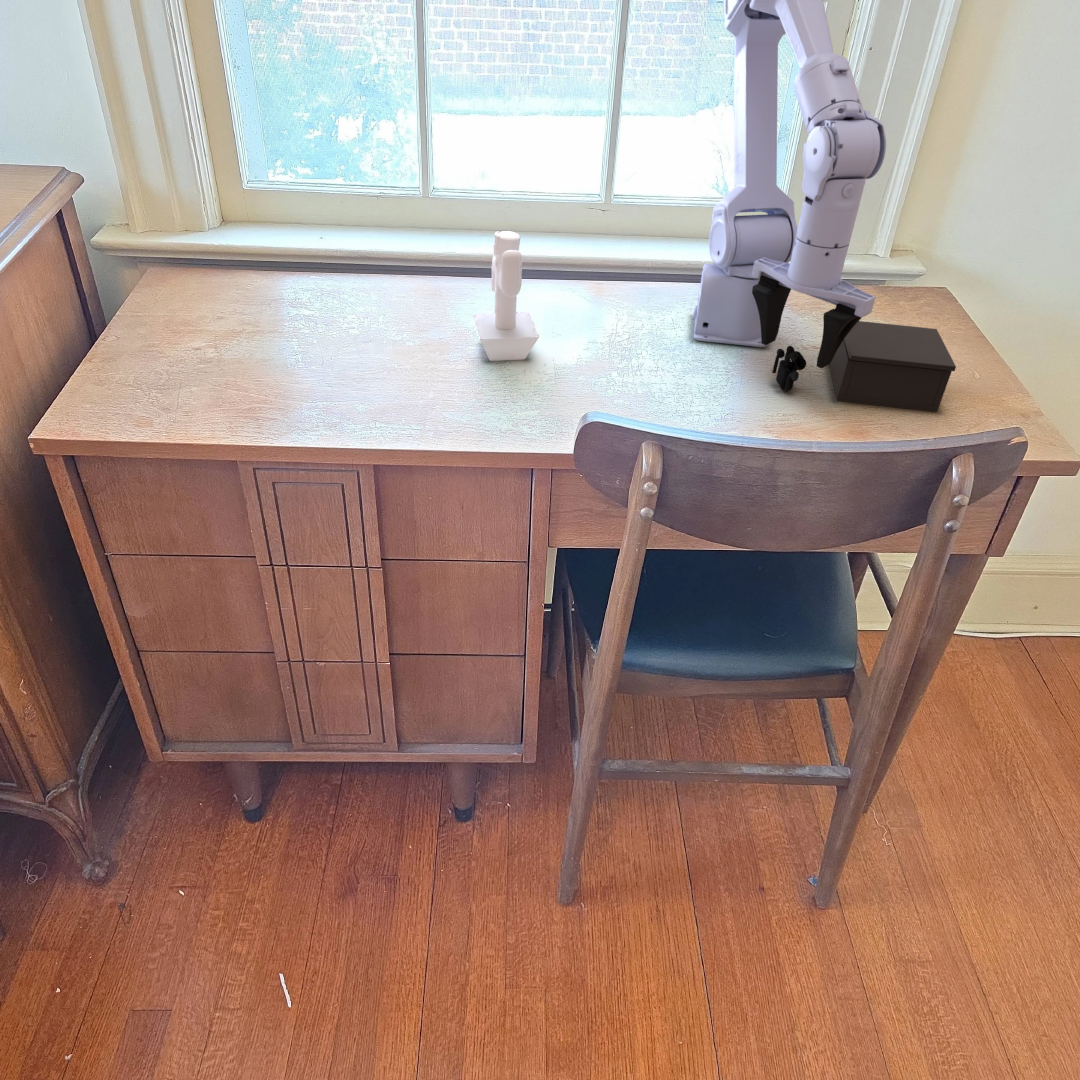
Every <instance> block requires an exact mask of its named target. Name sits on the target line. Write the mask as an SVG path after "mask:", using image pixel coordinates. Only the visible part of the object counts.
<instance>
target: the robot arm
mask: <svg viewBox="0 0 1080 1080" xmlns="http://www.w3.org/2000/svg"><path fill="white" fill-rule="evenodd" d="M723 1H724V3H723V4H724V7H723V8H724V9H723V10H724V11H723V13H724V28H725V29H726V30H727V32H729V33H730V34H732V36H733V51H734V52H733V53H734V54H733V57H734V58H733V67H734V68H733V70H734V71H733V73H734V74H733V76H734V77H733V80H734V81H733V82H734V83H733V86H734V88H733V89H734V91H733V95H734V96H733V101H734V103H733V104H734V109H733V110H734V111H733V112H734V113H733V114H734V117H733V118H734V123H733V131H734V132H733V133H734V135H733V136H734V143H733V144H734V145H733V147H734V148H733V149H734V152H733V153H734V155H733V156H734V157H733V159H734V162H733V164H734V166H733V167H734V176H733V177H734V178H733V179H734V180H733V181H734V182H733V183H734V186H733V188H732V189H731V191H729V192H728V193H727V194H726V195H725V196H723V197H722V198H721V199H720V200H719V201H718V202H717V203H716V205H714V207H713V208H712V220H711V227H710V231H709V236H708V251H709V256H710V258H711V261H712V263H704V264H703V268H702V272H701V278H700V284H699V290H698V296H697V302H696V304H695V305H694V309H693V315H692V316H693V318H692V319H693V320H694V329H693V339H694V340H695V341H699V342H701V341H702V342H708V343H709V342H710V343H720V344H726V345H727V344H729V345H737V346H738V345H739V346H747V347H755V348H756V347H757V348H767V347H768V345H770V344H772V343H773V342H776V340H777V337H778V334H779V332H780V327H781V321H782V316H783V314H784V313H783V312H784V310H785V307H786V303H787V301H788V298H789V296H790V293H791V291H794V292H797V293H800V294H804V295H807V296H809V297H812V298H815V299H817V300H821V301H823V302H826V303H829V304H831V305H834V306H835V307H834V308H832V309H829V310H828V311H826V312H824V313H823V316H822V317H823V328H822V330H823V331H822V338H821V344H820V347H819V351H818V353H817V359H816V365H815V366H816V368H819V369H824V368H825V367H827V366H829V364H831V361H832V359H833V357H834V355H835V353H836V351H837V350H838V348H839V346H840V345H841V343H842V341H843V340H844V339H845V337H846V336H847V334H848V333H849V332H850V331H851V329H852V328H853V327H854V326H855V325H856V323H857V322H858V321H861V320H862V318H864V317H866V316H868V315H870V314H871V313H872V311H873V308H874V305H875V302H876V297H877V296H875V295H873V294H871V293H868V292H866V291H864V290H862V289H860V288H859V287H857V286H855V285H853V284H851V283H850V282H848V281H847V280H844V279H843V278H842V277H841V276H842V273H843V269H844V267H845V262H846V258H847V253H848V250H849V246H850V243H851V239H852V235H853V231H854V227H855V223H856V219H857V216H858V212H859V208H860V205H861V201H862V196H863V192H864V189H865V185H866V181H867V180H870V179H872V178H874V177H875V176H876V175H877V174H878V172H879V171H880V170H881V167H882V166H883V164H884V160H885V157H886V151H887V137H886V131H885V125H884V124H883V122H882V121H881V120H880V118H877V117H874V116H873V115H872V113H871V111H869V110H866V109H864V108H863V104H862V100H861V98H860V95H859V90H858V88H857V85H856V81H855V78H854V75H853V71H852V69H851V65H850V62H849V59H847V57H846V56H844V55H841V54H838V53H834V52H835V51H834V47H833V43H832V37H831V33H830V27H829V22H828V17H827V13H826V7H825V2H824V0H723ZM785 35H786V37H787V40H788V42H789V44H790V47H791V49H792V52H793V55H794V57H795V59H796V62H797V64H798V66H799V70H798V72H797V74H796V76H795V78H794V81H793V89H794V92H795V96H796V99H797V103H798V107H799V109H800V113H801V117H802V120H803V123H804V127H805V130H806V133H807V138H806V142H803V148H802V166H803V176H802V182H801V187H802V188H801V192H802V193H803V194H804V197H803V201H802V206H801V211H800V215H799V220H798V224H797V221H796V215H795V202H794V200H793V199H792V198H791V197H790V196H789V195H788V194H786V193H785V192H784V191H783V190H782V189H781V188H780V187H779V186H778V185H777V180H778V179H777V178H778V177H777V175H778V174H777V173H778V172H777V171H778V167H777V165H778V79H779V78H778V77H779V76H778V75H779V72H778V71H779V70H778V67H779V63H778V62H779V60H778V59H779V43H780V41H781V39H782V38H783V36H785ZM739 213H764V214H748V215H747V214H746V215H737V214H739Z"/></svg>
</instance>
